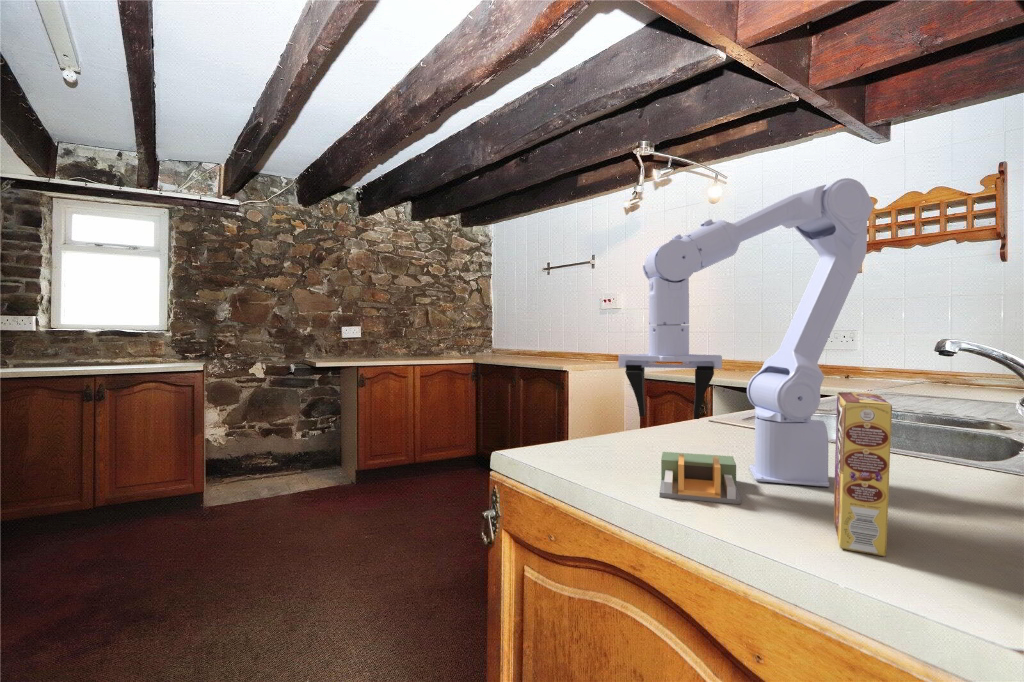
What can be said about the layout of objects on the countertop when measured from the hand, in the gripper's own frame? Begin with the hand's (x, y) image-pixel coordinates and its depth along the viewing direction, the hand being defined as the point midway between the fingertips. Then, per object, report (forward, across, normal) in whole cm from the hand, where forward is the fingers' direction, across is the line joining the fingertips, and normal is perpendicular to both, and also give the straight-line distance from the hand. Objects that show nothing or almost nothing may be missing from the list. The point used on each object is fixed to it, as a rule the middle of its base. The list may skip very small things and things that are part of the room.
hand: (668, 416), depth 76 cm
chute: (+9, +4, -6) cm, 11 cm away
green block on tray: (+9, +4, -2) cm, 11 cm away
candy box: (+10, +20, -16) cm, 27 cm away
